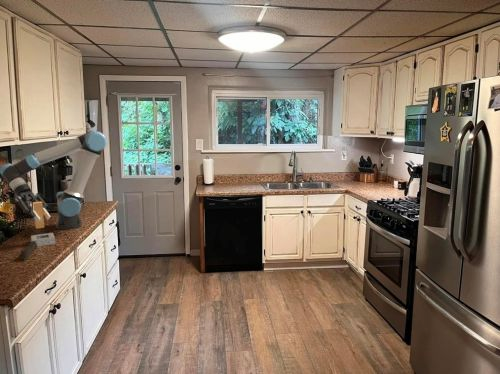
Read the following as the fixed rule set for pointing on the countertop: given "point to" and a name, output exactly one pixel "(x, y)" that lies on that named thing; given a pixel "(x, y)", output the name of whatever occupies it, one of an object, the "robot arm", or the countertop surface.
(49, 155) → the robot arm
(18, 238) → the countertop surface
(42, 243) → the square frame
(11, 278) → the countertop surface
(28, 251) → the hand tool
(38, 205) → the orange rectangular block
